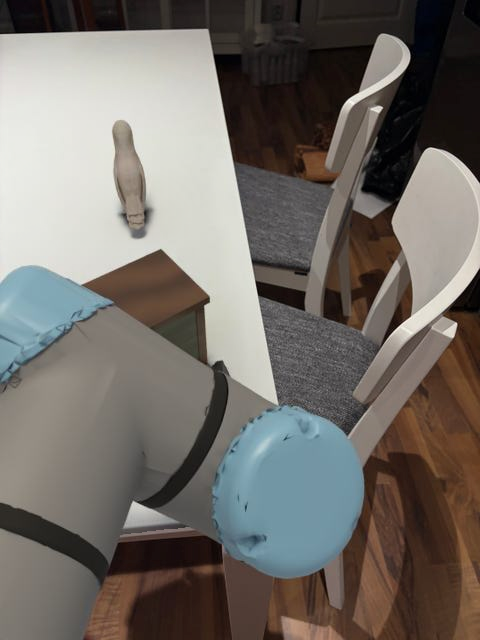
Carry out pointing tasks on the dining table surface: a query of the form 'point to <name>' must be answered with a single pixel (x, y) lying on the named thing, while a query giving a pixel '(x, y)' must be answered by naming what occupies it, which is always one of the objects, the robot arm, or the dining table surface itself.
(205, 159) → the dining table surface
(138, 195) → the bird
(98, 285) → the cupboard
